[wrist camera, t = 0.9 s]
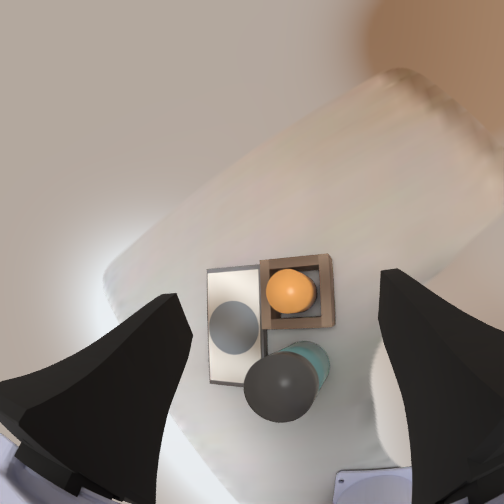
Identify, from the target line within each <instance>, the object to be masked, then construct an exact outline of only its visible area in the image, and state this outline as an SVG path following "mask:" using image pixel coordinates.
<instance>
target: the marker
mask: <svg viewBox="0 0 504 504" xmlns="http://www.w3.org/2000/svg"><path fill="white" fill-rule="evenodd" d="M329 368H330V363H329V358H328V356H327V354H326V352H325V351H324V350H323V349H322V348H321V347H320V346H319V345H317V344H315V343H312V342H308V341H301V342H297V343H294V344H292V345H290V346H288V347H286V348H284V349H282V350H280V351H278V352H275V353H272V354H270V355H268V356H266V357H264V358H262V359H260V360H258V361H257V362H255V363H254V364H253V365H252V366H251V367H250V369H249V370H248V372H247V374H246V376H245V380H244V394H245V397H246V400H247V402H248V404H249V406H250V407H251V408H252V410H253V411H254V412H255V413H257V414H258V415H259V416H261V417H262V418H264V419H266V420H269V421H272V422H278V423H284V422H290V421H293V420H296V419H298V418H300V417H301V416H303V415H304V414H305V413H306V412H307V411H308V409H309V408H310V406H311V405H312V403H313V401H314V400H315V398H316V396H317V393H318V391H319V390H320V388H321V386H322V384H323V383H324V381H325V379H326V377H327V375H328V373H329Z"/></svg>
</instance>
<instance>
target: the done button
mask: <svg viewBox="0 0 504 504" xmlns="http://www.w3.org/2000/svg"><path fill="white" fill-rule="evenodd" d="M266 296H267V300H268V302H269V304H270V305H271V306H272V308H274V309H275V310H276V311H278V312H281V313H298V312H304V311H306V310H308V309H309V308H310V307H311V306H312V305H313V304H314V302H315V300H316V297H317V289H316V286H315V284H314V282H313V281H312V280H311V279H310V278H309V277H308V276H306V275H304V274H302V273H300V272H298V271H296V270H292V269H284V270H280V271H278V272H276V273H275V274H274V275H273V276H272V277H271V278H270V280H269V281H268V284H267V287H266Z"/></svg>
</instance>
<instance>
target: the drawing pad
mask: <svg viewBox="0 0 504 504" xmlns="http://www.w3.org/2000/svg"><path fill="white" fill-rule="evenodd" d="M207 321H208V353H209V376H210V384H218V385H227V386H237V387H244V380H245V376H246V374H247V372H248V370H249V369H250V367H251V366H252V365H253V364H254V363H255V362H257V361H258V360H260V359H262V358H264V357H266V356H268V355H267V329H262V318H261V285H260V264H259V265H248V266H237V267H226V268H215V269H207Z"/></svg>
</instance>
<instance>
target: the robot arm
mask: <svg viewBox="0 0 504 504" xmlns="http://www.w3.org/2000/svg"><path fill="white" fill-rule="evenodd" d="M378 321H379V325H380V329H381V333H382V338H383V342H384V345H385V348H386V350H387V353H388V356H389V359H390V362H391V364H392V367H393V370H394V373H395V376H396V379H397V382H398V385H399V388H400V391H401V394H402V398H403V401H404V406H405V412H406V417H407V424H408V431H409V439H410V448H411V461H412V466H410V467H402V468H393V469H381V470H363V471H340V472H338V473H337V475H336V481H335V489H334V497H333V504H504V332H503V331H501V330H499V329H496V328H494V327H492V326H490V325H487V324H486V323H484V322H482V321H480V320H478V319H476V318H474V317H472V316H470V315H468V314H467V313H465V312H463V311H461V310H460V309H458V308H457V307H455V306H453V305H451V304H450V303H448V302H447V301H445V300H444V299H442V298H441V297H439V296H438V295H436V294H435V293H433V292H432V291H430V290H429V289H427V288H426V287H425V286H423V285H422V284H420V283H419V282H417V281H416V280H415V279H413V278H412V277H410V276H409V275H407V274H406V273H404V272H403V271H401V270H399V269H398V268H396V269H390V270H383V271H381V278H380V298H379V312H378ZM192 338H193V334H192V331H191V329H190V327H189V324H188V322H187V319H186V317H185V314H184V312H183V309H182V307H181V304H180V301H179V299H178V296H177V293H171V294H162V295H160V296H158V297H157V298H155V299H154V300H152V301H151V302H149V303H148V304H146V305H145V306H144V307H142V308H141V309H140V310H138V311H137V312H136V313H134V314H133V315H132V316H130V317H129V318H128V319H126V320H125V321H124V322H122V323H121V324H120V325H118V326H117V327H116V328H114V329H113V330H111V331H110V332H109V333H107V334H106V335H104V336H103V337H101V338H100V339H99V340H97V341H96V342H94V343H92V344H91V345H89V346H88V347H86V348H85V349H83V350H81V351H79V352H77V353H76V354H74V355H72V356H70V357H68V358H66V359H64V360H62V361H60V362H58V363H56V364H54V365H51V366H49V367H47V368H44V369H42V370H39V371H36V372H33V373H30V374H27V375H24V376H21V377H17V378H13V379H9V380H5V381H2V382H0V422H1V423H2V424H3V425H4V426H5V427H6V428H7V429H8V430H9V431H10V432H11V433H12V434H13V435H14V436H15V437H17V439H19V440H20V441H21V444H20V446H19V447H18V446H17V445H16V444H14V443H13V442H12V441H11V440H9V439H8V438H7V437H5V436H4V435H3V434H2V433H0V504H120V503H117V502H115V501H112V498H113V499H116V500H118V501H121V502H122V501H125V502H128V503H131V504H155V503H156V478H157V469H158V460H159V453H160V447H161V442H162V436H163V432H164V427H165V423H166V418H167V414H168V411H169V408H170V405H171V402H172V400H173V397H174V394H175V392H176V389H177V386H178V384H179V381H180V379H181V376H182V373H183V371H184V368H185V365H186V362H187V360H188V356H189V352H190V348H191V343H192ZM340 479H343V480H344V481H339V480H340Z"/></svg>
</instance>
